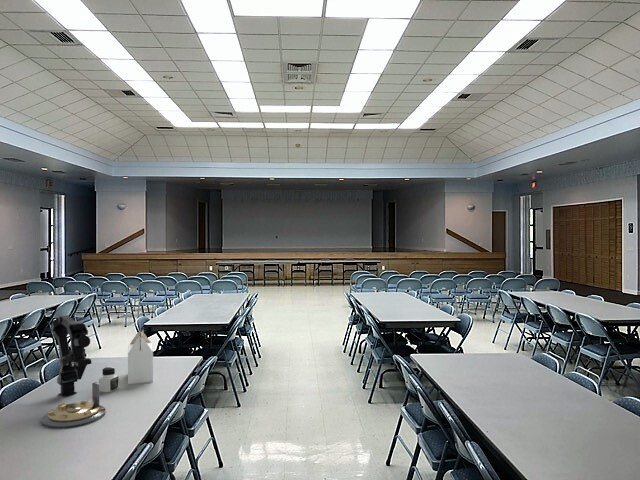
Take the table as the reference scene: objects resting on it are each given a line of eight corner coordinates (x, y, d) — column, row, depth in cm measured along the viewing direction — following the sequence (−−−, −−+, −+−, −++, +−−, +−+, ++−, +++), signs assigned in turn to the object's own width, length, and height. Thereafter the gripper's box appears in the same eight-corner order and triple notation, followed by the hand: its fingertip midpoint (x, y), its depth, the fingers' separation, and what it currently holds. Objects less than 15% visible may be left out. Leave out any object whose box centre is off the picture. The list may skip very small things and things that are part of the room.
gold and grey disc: (28, 422, 216) (28, 417, 216) (78, 403, 240) (78, 399, 240) (69, 432, 205) (69, 427, 205) (117, 411, 229) (117, 407, 229)
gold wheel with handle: (48, 425, 208) (48, 396, 208) (47, 410, 226) (47, 383, 226) (102, 416, 219) (102, 388, 219) (96, 402, 237) (96, 377, 237)
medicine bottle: (110, 392, 257) (110, 369, 257) (98, 391, 258) (98, 369, 258) (118, 388, 264) (118, 366, 264) (107, 387, 265) (106, 365, 265)
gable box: (153, 382, 275) (152, 332, 275) (127, 384, 271) (127, 334, 270) (152, 371, 296) (151, 325, 296) (128, 373, 292) (128, 327, 291)
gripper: (54, 350, 244) (56, 382, 242) (66, 350, 231) (68, 384, 229) (77, 346, 251) (79, 377, 250) (90, 346, 238) (93, 378, 237)
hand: (79, 379), depth 241 cm, fingers closed
